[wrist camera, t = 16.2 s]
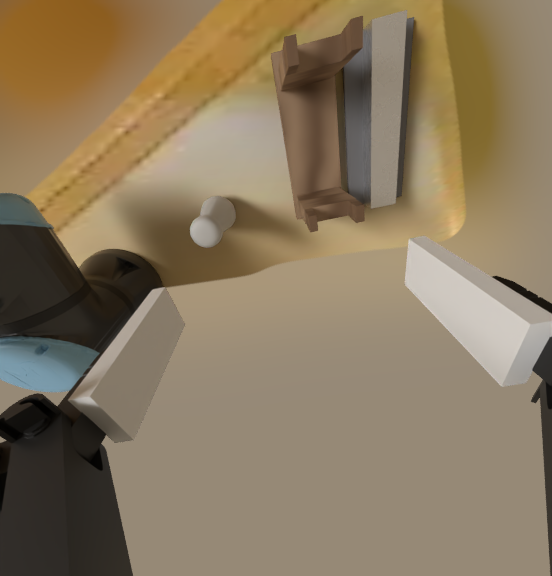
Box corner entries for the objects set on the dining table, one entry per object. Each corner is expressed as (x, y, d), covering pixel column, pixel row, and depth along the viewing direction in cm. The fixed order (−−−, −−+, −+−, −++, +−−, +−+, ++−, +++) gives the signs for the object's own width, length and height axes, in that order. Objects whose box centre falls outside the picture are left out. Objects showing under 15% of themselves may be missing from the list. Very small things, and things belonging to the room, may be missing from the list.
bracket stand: (296, 217, 44) (307, 247, 32) (271, 56, 32) (273, 6, 20) (340, 207, 43) (369, 235, 31) (330, 40, 32) (370, -22, 19)
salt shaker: (244, 210, 43) (235, 234, 32) (224, 232, 45) (209, 263, 34) (217, 185, 41) (198, 203, 30) (197, 210, 43) (173, 235, 32)
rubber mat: (348, 206, 43) (349, 206, 43) (341, 37, 32) (342, 36, 31) (399, 195, 42) (401, 195, 42) (411, 19, 31) (414, 17, 30)
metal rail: (363, 203, 42) (370, 208, 39) (361, 30, 31) (372, 19, 28) (386, 199, 42) (395, 203, 39) (393, 22, 31) (407, 9, 28)
